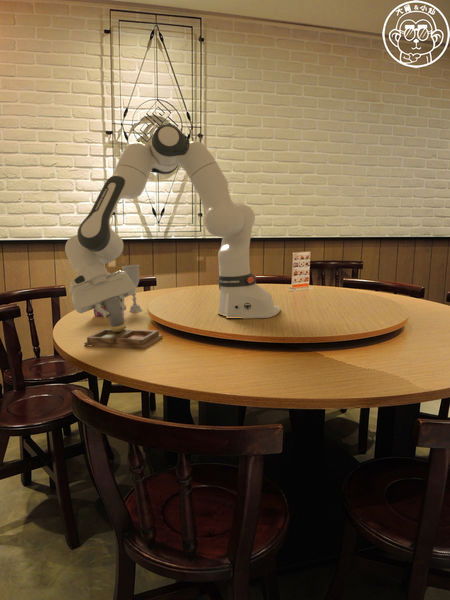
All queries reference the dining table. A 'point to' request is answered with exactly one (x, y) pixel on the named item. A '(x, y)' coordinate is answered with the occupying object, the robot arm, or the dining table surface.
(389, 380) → the dining table surface
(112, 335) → the wooden compartment tray
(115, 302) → the sleeve
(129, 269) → the chalice
